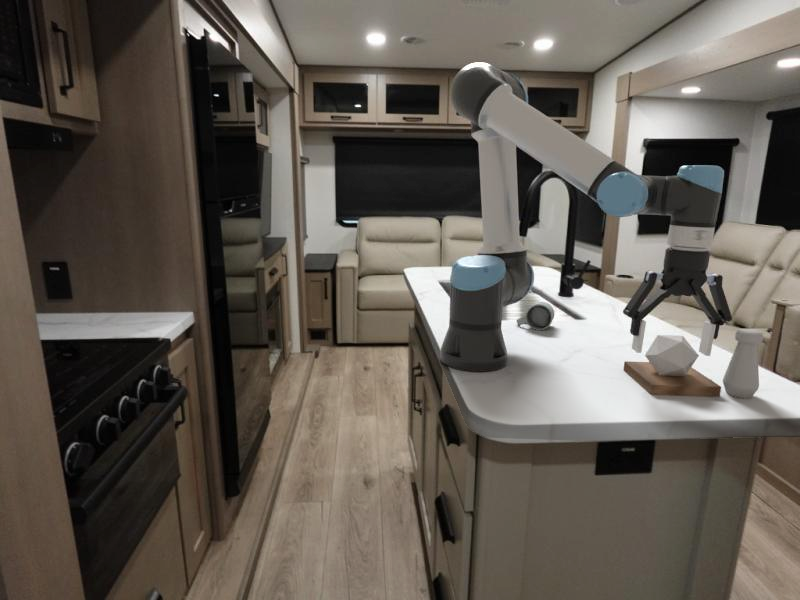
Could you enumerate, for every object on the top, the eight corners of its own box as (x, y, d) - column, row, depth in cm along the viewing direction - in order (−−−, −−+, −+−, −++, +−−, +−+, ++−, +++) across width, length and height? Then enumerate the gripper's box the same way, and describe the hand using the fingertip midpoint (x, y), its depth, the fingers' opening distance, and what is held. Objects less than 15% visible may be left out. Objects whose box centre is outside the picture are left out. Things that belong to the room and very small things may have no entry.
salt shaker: (754, 403, 90) (767, 336, 88) (718, 394, 94) (730, 330, 91) (758, 393, 95) (770, 329, 92) (723, 385, 98) (734, 324, 96)
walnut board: (650, 394, 94) (652, 384, 93) (623, 370, 106) (624, 361, 106) (719, 396, 93) (721, 386, 93) (683, 371, 106) (685, 363, 105)
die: (690, 388, 93) (714, 346, 94) (650, 363, 94) (674, 322, 95) (667, 386, 102) (690, 348, 103) (631, 363, 102) (654, 325, 103)
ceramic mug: (554, 324, 142) (555, 300, 140) (551, 331, 134) (553, 305, 133) (518, 321, 145) (520, 297, 144) (514, 327, 138) (515, 302, 137)
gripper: (630, 248, 90) (615, 355, 95) (767, 253, 89) (744, 361, 94) (615, 243, 98) (601, 343, 103) (741, 248, 97) (721, 348, 102)
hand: (670, 352), depth 99 cm, fingers open, 13 cm apart
